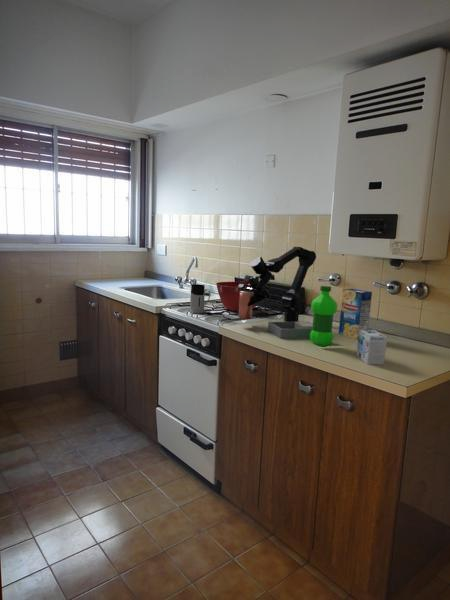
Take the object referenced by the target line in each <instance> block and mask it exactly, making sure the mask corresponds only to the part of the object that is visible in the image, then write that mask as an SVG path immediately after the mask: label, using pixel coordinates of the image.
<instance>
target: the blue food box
mask: <svg viewBox="0 0 450 600" xmlns="http://www.w3.org/2000/svg"><path fill="white" fill-rule="evenodd" d="M341 293H342V296H341V303H340V304H341V305H340V314H339V315H340V317H339V328H338V335H341V336H345V337H349V338H351V339H354V340H357V341H358V337H359V330H369V325H370V318H371V317H370V315H371V306H372V298H373V291H369V290H363V289H358V288H357V289H356V288H343V289H342V292H341Z"/></svg>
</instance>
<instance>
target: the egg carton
mask: <svg viewBox="0 0 450 600" xmlns="http://www.w3.org/2000/svg"><path fill="white" fill-rule="evenodd" d="M309 322H310V321H299V322H295V328H294V329H307V328H313V323H312V322H310V323H309ZM311 323H312V324H311Z"/></svg>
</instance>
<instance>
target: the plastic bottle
mask: <svg viewBox="0 0 450 600" xmlns="http://www.w3.org/2000/svg"><path fill="white" fill-rule="evenodd" d="M319 291H320V292H321V294H319V295H317V296H316V297H315V298H313V300H312V301H311V307H310V308H311V311H312V312H313V319H312V324H313V329H312V331H311V332H310V338H309V339H310V341H311V343H312V344H315V345H317V346H318V347H321V348H323V347H324V348H326V347H327V346H328V345H330V344H331V343H332V342H333V341H334V337H335V336H334V333H333V322H334V321H333V320H334V314H335V313H336V312H337V310H338V303H337V302H336V300H335V299H334V298H333V297H332V296H331V295H330V293H331V291H332V286H330V285H329V286H328V285H321V286H320V289H319Z"/></svg>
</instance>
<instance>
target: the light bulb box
mask: <svg viewBox="0 0 450 600" xmlns="http://www.w3.org/2000/svg"><path fill="white" fill-rule="evenodd" d="M387 340H388V336H387V335H385V334H383V333H381V332H379V331H378V330H376V329H368V330H359V337H358V340H357V348H356V357H357V358H359V360H361V361H362V362H364V364H365V365H375V364H378V365H379V366H381V365H383V366H384V365H385V358H386V351H387V342H388V341H387Z"/></svg>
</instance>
